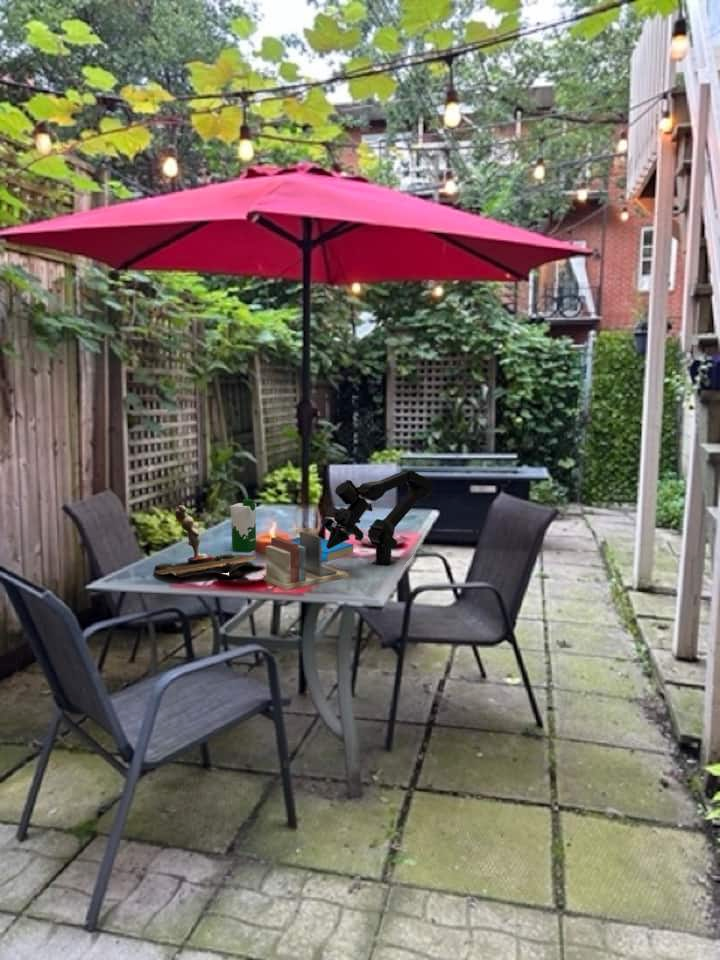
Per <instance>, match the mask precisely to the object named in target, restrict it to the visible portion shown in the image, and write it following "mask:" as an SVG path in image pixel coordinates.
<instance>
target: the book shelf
mask: <svg viewBox="0 0 720 960" xmlns="http://www.w3.org/2000/svg"><path fill="white" fill-rule="evenodd" d="M289 540H290V539H286V538H283V537H280V536H275V537H271V538H270V541H271V542H270V544H271V545H266V546H265V565H266V567H265V572H266V574H263V575H262V580H263V581H265V582H267V583H269V584H272V585H275V586H277V587H279V588H280V589H283V590H285V591H289V590H293V589H299V588H303V587H307V586H313V585H318V584H323V583H327V582H331V581H336V580H341V579H347V578H349V577H350V572H348V571H345V570H342V569H340V568H337V567H334V566H331V565H329V564H326V563H322V566H323V567H326V568H329V569H331V570H334V571H337V573H335V574H330V575H325V576H317V575H314V574H312V573H309V572H307V571H306V552H305V547H303V546H301V545H298V543H295V542H292V541H289ZM263 576H264V577H263Z"/></svg>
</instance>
